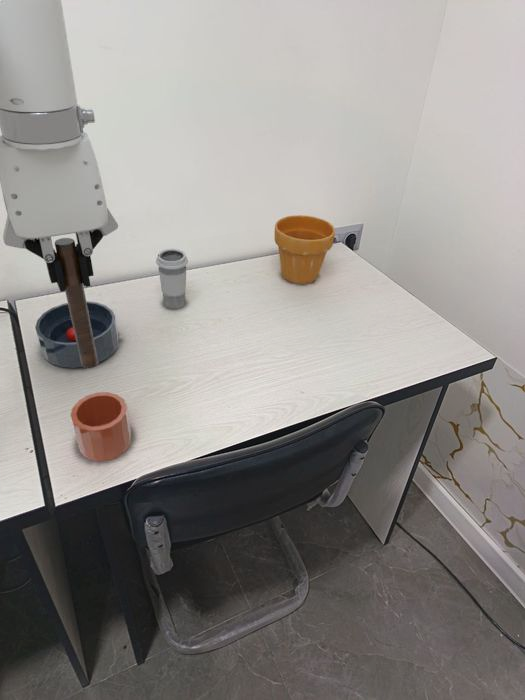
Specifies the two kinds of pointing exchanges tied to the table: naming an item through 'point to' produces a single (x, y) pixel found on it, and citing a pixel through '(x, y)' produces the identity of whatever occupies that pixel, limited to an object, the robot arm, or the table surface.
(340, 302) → the table surface
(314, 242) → the flower pot
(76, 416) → the holder
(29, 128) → the robot arm
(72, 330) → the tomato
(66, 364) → the bowl
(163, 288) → the cup
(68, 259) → the stick
